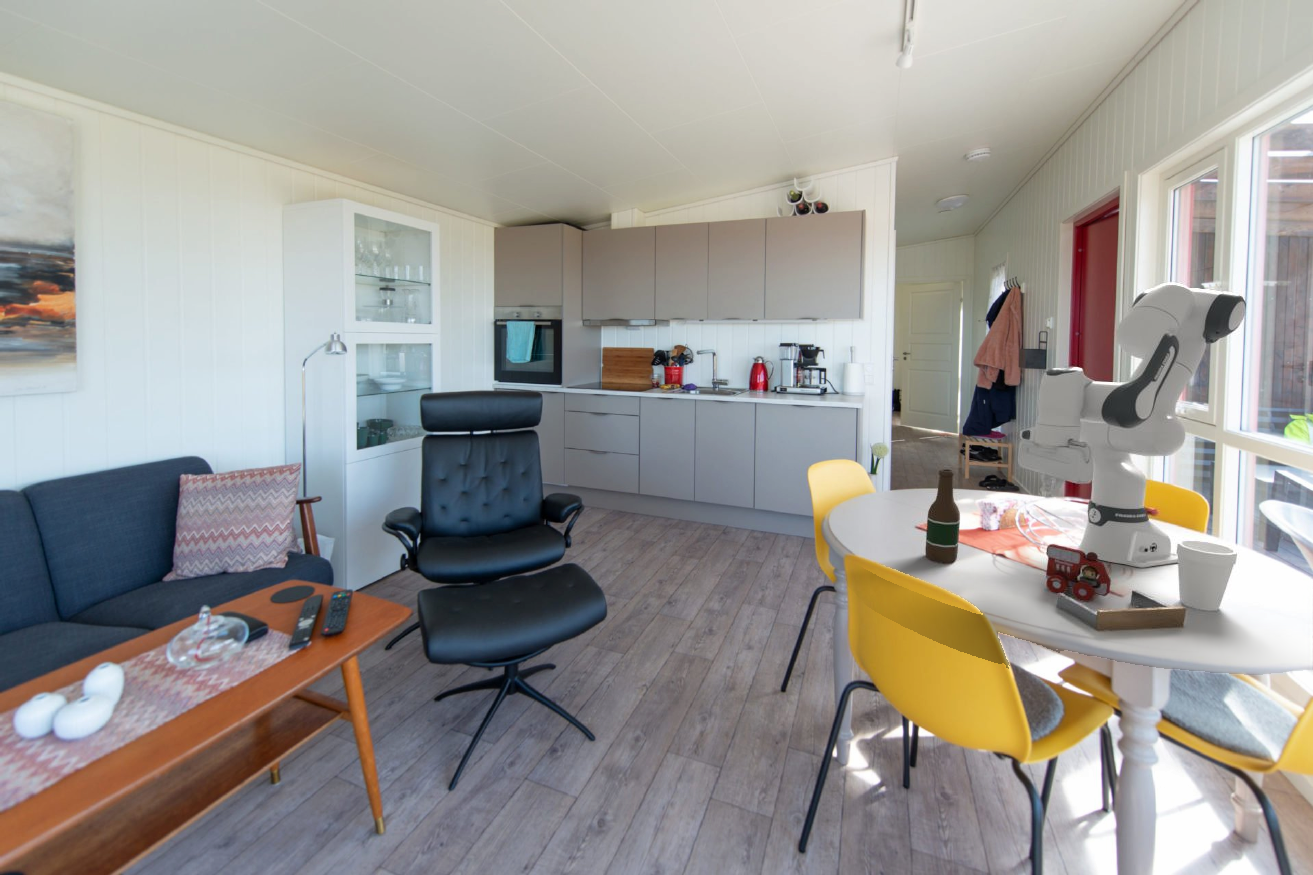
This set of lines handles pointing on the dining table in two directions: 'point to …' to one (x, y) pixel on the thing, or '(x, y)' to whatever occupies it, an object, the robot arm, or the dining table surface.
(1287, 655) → the dining table surface
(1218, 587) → the foam cup
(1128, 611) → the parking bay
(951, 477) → the beer bottle
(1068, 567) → the toy fire truck
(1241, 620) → the dining table surface
